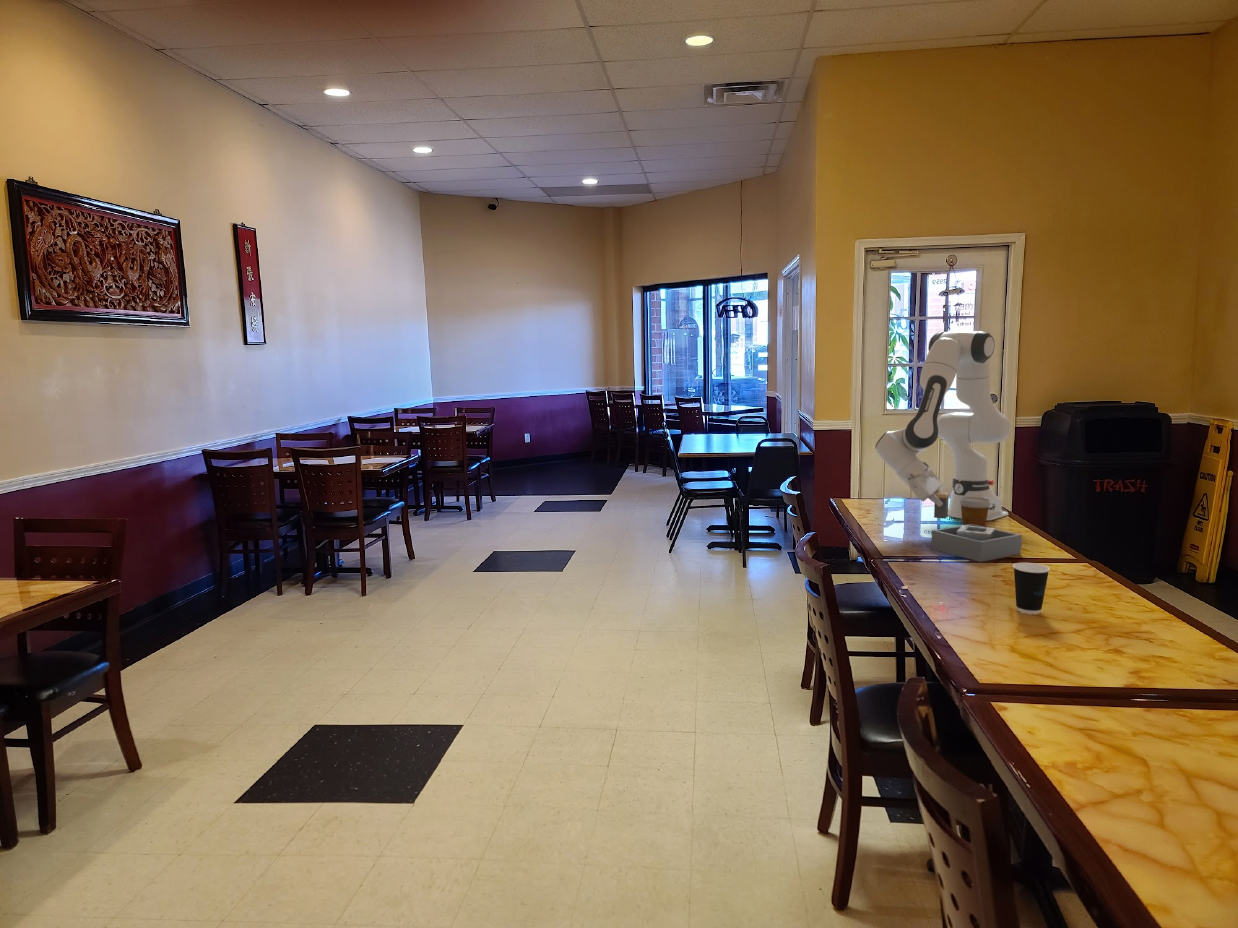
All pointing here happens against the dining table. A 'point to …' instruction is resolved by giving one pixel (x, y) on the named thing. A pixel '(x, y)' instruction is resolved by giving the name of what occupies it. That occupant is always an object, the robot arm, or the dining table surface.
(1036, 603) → the dixie cup
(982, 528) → the inlet socket
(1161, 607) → the dining table surface
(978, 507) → the disposable coffee cup
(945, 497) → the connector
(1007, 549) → the walled box
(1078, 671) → the dining table surface
